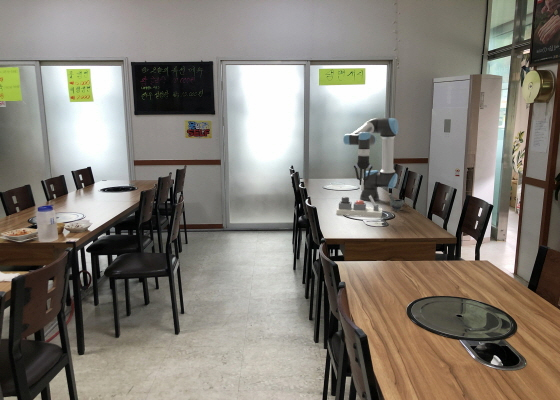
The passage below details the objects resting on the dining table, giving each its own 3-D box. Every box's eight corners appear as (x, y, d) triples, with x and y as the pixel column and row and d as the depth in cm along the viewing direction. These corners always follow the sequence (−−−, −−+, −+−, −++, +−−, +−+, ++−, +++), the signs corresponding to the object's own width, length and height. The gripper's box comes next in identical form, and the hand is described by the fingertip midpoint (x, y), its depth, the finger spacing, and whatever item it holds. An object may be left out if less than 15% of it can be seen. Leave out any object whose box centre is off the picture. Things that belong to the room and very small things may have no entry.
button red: (356, 207, 314) (356, 200, 313) (363, 207, 313) (363, 200, 312) (355, 208, 310) (356, 201, 309) (363, 209, 308) (363, 201, 308)
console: (339, 209, 323) (339, 200, 322) (382, 212, 316) (382, 202, 315) (336, 214, 308) (336, 204, 307) (381, 217, 301) (381, 206, 300)
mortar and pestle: (402, 208, 329) (402, 192, 327) (404, 211, 320) (405, 194, 317) (386, 208, 330) (387, 192, 327) (388, 211, 320) (389, 194, 318)
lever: (375, 208, 311) (369, 196, 310) (377, 207, 310) (370, 195, 310) (375, 209, 307) (368, 197, 307) (377, 208, 307) (370, 196, 306)
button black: (342, 203, 316) (342, 196, 315) (349, 204, 315) (349, 197, 314) (341, 205, 312) (341, 198, 311) (348, 205, 310) (348, 198, 310)
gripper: (353, 155, 302) (352, 190, 307) (373, 156, 299) (371, 191, 304) (354, 154, 309) (353, 188, 314) (373, 155, 306) (372, 189, 311)
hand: (362, 189), depth 309 cm, fingers closed
